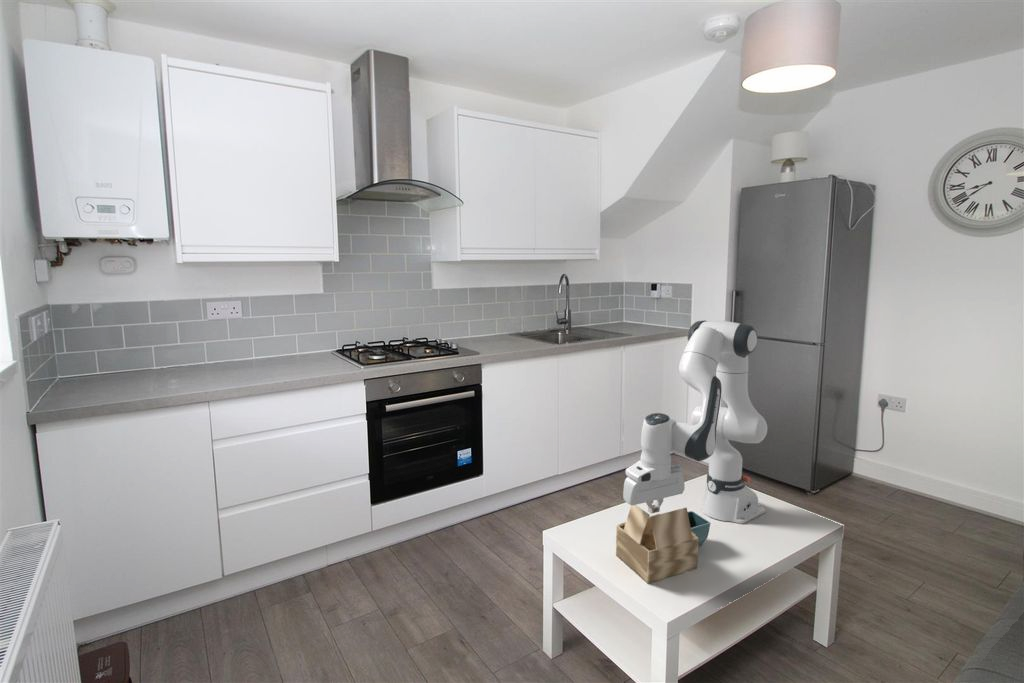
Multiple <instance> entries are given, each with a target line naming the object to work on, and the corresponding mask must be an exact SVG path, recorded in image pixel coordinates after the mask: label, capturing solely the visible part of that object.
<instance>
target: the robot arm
mask: <svg viewBox="0 0 1024 683" xmlns="http://www.w3.org/2000/svg"><path fill="white" fill-rule="evenodd" d="M687 341H688V342H687V344H686V346H685V348H684V350H683V352H682V355H681V358H680V360H679V364H678V372H679V375H680V378H682V380H683V381H684V382H685V383H686V384H687V385H688V386H690V387H691V388H692V389H694V390H695V391H697V392H698V393H700V394H701V395H702V404H699V405H697V406H696V407H695V408H694V409H693V410H692V412H691V414H690V423H688V422H684V421H681V420H678V419H673V418H671V417H670V415H667V414H666V413H661V412H656V413H650V414H648V415H646V416H645V417H644V418H643V423H642V426H641V433H640V434H641V435H640V447H641V454H640V458H639V459H640V460H637V462H635V463H633V464H632V465H630V466H628V467H627V468H626V469H625V475H626V476H627V477H626V478H625V479H624V481H623V482H624V483H623V491H622V492H623V494H622V495H623V500H624V501H625V503H627V504H629V505H630V506H631V505H632V506H633V505H636V506H638V505H641V504H644V503H645V504H646V505H647V508H648V510H647V511H648V512H647V513H648V514H655V513H656V514H657V513H659V512H660V511H661V506H662V504H663V503H664V499H666V498H669V497H670V498H671V497H674V496H677V495H682V494H683V493H684V491H685V490H686V489H685V478H684V477H685V476H684V467H683V466H682V465H681V464H679V463H675V464H672V457H671V453H674V454H678V455H680V456H684V457H686V458H689V459H691V460H694V461H696V462H703V461H704V460H707V459H708V472H707V475H706V487H705V494H704V498H703V499H702V507H701V510H702V512H703V513H704V515H706V516H708V517H710V518H712V519H715V520H719V521H723V522H732V523H737V524H741V525H742V524H745V523H748V522H749V521H751V520H753V519H755V518H757V517H759V516H761V515H762V514H765V513H766V509H765V507H764V506H763V505H762V504H760V503H759V496H758V494H756V492H754V491H753V490H752V489H751V488H749V486H747V485H746V484H745V482H746V483H747V484H749V483H750V482H751V480H752V479H751V477H749V476H747V475H744V476H743V456H742V454H741V453H740V452H739V450H738V449H736V448H735V447H734V446H732V444H731V443H730V441H733V442H738V443H741V444H742V443H743V444H759V443H761V442H762V441H764V439H765V438H766V436H767V433H768V424H767V421H766V419H765V417H763V415H761V414H760V413H759V412H758V410H757V409H756V408H755V406H754V405H753V403H752V402H751V399H750V396H749V389H748V388H749V387H748V386H749V385H748V384H749V382H748V381H749V380H748V379H749V355H751V354H753V352H754V351H755V349H756V346H757V343H758V334H757V331H756V329H755V328H754V326H752V325H750V324H747V323H744V322H741V323H739V322H733V321H729V320H722V321H721V320H720V321H719V320H712V321H711V320H709V321H707V320H698V321H695V322H694V323H693V324H691V326H690V327H689V330H688V334H687ZM721 400H723V401H724V402H725V404H726V405H727V407H725V406H721V402H722V401H721ZM654 501H655V502H654Z"/></svg>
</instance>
